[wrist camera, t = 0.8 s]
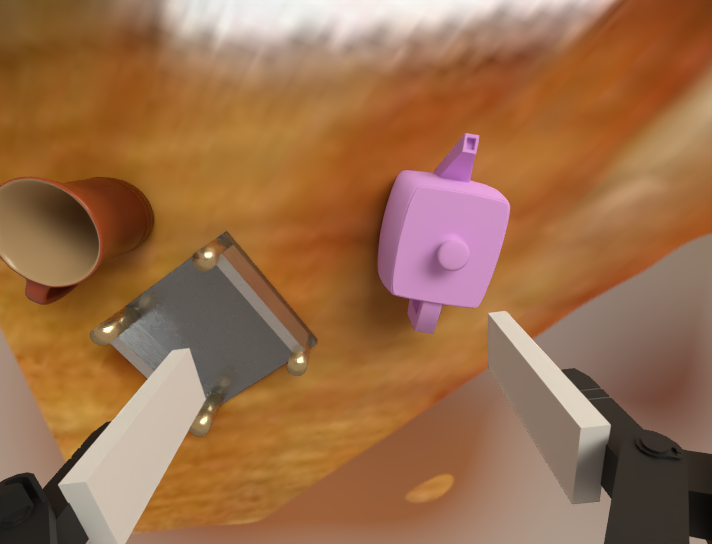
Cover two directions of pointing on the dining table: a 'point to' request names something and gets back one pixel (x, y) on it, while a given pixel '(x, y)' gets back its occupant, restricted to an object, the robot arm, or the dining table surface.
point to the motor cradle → (212, 326)
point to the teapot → (441, 236)
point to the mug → (68, 229)
